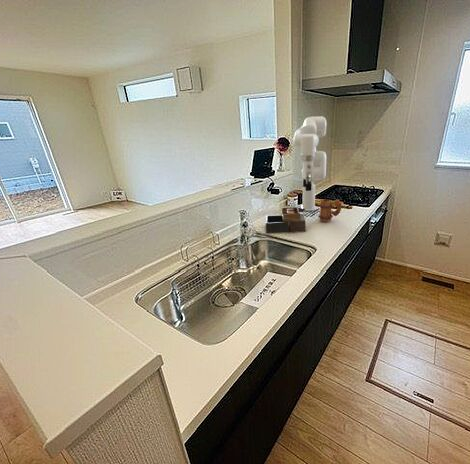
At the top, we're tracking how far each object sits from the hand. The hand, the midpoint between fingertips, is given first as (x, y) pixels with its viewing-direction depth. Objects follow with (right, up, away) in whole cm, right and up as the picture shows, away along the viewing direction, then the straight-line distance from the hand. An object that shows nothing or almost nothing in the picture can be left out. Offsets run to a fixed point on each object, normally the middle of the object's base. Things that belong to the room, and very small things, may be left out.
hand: (307, 188), depth 147 cm
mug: (+17, -18, +21) cm, 33 cm away
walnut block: (-9, -15, +11) cm, 21 cm away
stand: (-5, -23, +12) cm, 26 cm away
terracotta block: (-9, -17, +6) cm, 20 cm away
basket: (-17, -23, +11) cm, 31 cm away
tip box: (-7, -16, +9) cm, 20 cm away
